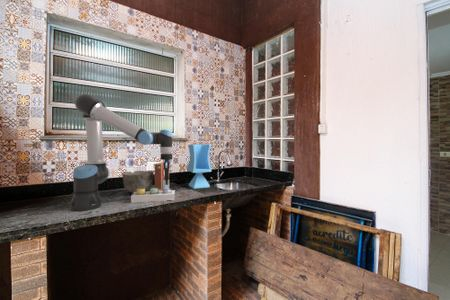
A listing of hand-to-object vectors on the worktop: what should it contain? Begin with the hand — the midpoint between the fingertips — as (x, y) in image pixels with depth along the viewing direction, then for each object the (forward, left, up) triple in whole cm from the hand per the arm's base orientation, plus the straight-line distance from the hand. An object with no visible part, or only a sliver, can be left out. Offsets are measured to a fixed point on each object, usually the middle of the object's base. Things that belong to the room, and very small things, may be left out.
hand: (166, 189), depth 147 cm
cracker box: (-4, +21, -6) cm, 22 cm away
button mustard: (-16, 0, -2) cm, 16 cm away
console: (-8, 0, -6) cm, 10 cm away
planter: (+25, +35, -6) cm, 43 cm away
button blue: (0, 0, -4) cm, 4 cm away
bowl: (-21, +23, -6) cm, 32 cm away
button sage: (-8, 0, -2) cm, 8 cm away
